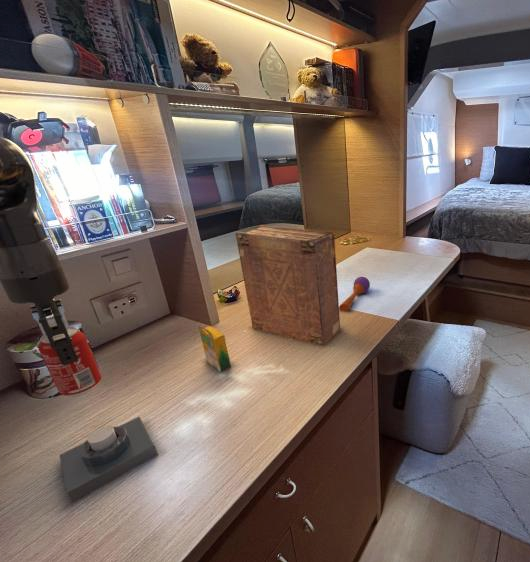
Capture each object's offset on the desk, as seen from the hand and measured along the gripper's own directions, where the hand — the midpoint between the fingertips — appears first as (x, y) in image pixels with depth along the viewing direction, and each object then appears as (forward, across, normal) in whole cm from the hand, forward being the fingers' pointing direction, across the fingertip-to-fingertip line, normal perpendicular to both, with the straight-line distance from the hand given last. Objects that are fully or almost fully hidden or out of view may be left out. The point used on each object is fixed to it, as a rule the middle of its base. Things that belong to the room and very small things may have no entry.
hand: (67, 354), depth 61 cm
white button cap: (+13, +12, 0) cm, 18 cm away
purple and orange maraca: (+17, -4, +74) cm, 76 cm away
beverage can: (+8, 0, 0) cm, 8 cm away
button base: (+17, +12, 0) cm, 21 cm away
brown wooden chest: (+17, -2, +48) cm, 51 cm away
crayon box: (+17, -2, +25) cm, 31 cm away
